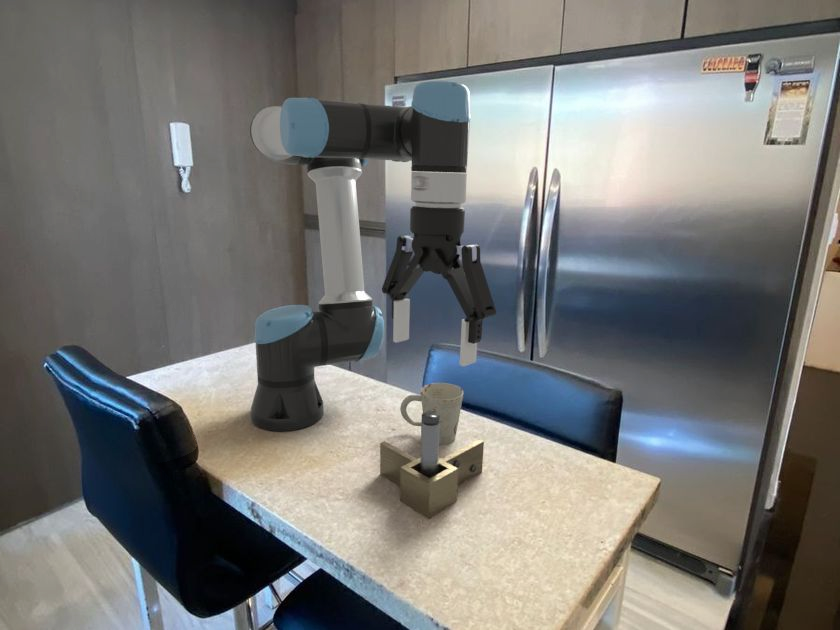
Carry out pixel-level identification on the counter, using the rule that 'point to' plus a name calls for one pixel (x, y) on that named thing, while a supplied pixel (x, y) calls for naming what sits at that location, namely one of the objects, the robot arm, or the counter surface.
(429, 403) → the mug
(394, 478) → the hinge
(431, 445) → the pin
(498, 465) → the counter surface
